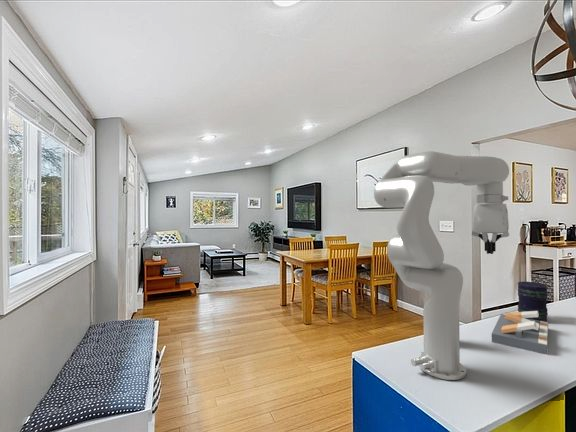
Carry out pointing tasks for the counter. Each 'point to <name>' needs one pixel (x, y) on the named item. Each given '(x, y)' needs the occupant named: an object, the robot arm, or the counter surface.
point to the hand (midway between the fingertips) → (490, 253)
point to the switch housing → (522, 336)
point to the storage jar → (533, 299)
